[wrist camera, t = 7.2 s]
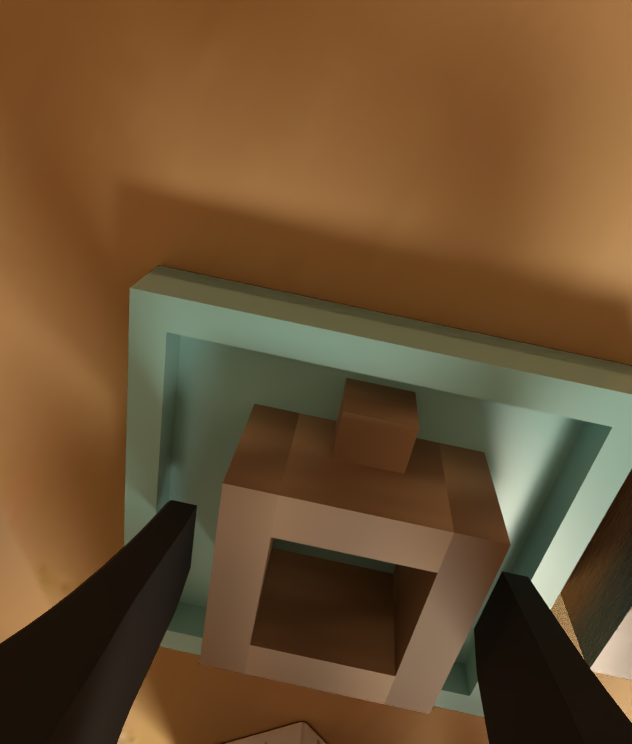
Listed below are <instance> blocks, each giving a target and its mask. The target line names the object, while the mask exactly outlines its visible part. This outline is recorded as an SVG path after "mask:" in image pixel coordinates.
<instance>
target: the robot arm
mask: <svg viewBox="0 0 632 744" xmlns="http://www.w3.org/2000/svg"><path fill="white" fill-rule="evenodd" d="M196 511H197V505H193V504H188V503H184V502H179V501H175V500H170V501H169V502H167V503H166V504H165V505H164V506H163V507H162V508H161V509H160V511H159V512H158V513H157V514H156V515H155V516H154V517H153V518H152V519H151V520H150V521H149V522H148V523H147V524H146V525H145V526H144V528H143V529H142V530H141V531H140V532H139V533H138V534H137V535H136V536H135V537H134V538H133V539H132V540H130V541H129V542H128V543H127V544H126V545H125V546H124V547H123V548H122V549H121V550H120V551H119V552H118V553H117V554H115V555H114V556H113V557H112V558H111V559H110V560H109V561H108V562H107V563H106V564H105V565H104V566H102V567H101V568H100V569H99V570H98V571H97V572H95V573H94V574H93V575H92V576H91V577H89V578H88V579H87V580H86V581H85V582H83V583H82V584H81V585H80V586H79V587H78V588H76V589H75V590H74V591H73V592H71V593H70V594H69V595H68V596H66V597H65V598H64V599H63V600H61V601H60V602H59V603H57V604H56V605H55V606H53V607H52V608H51V609H49V610H48V611H47V612H45V613H44V614H43V615H41V616H40V617H38V618H37V619H36V620H34V621H33V622H32V623H30V624H29V625H27V626H26V627H25V628H23V629H21V630H20V631H18V632H17V633H15V634H14V635H12V636H11V637H9V638H8V639H6V640H5V641H3V642H2V643H0V744H117V742H118V739H119V736H120V734H121V731H122V728H123V726H124V723H125V721H126V718H127V716H128V714H129V711H130V709H131V706H132V704H133V702H134V700H135V698H136V696H137V693H138V691H139V689H140V687H141V685H142V683H143V680H144V678H145V676H146V674H147V672H148V670H149V668H150V665H151V663H152V661H153V659H154V657H155V655H156V653H157V650H158V648H159V646H160V644H161V642H162V640H163V637H164V635H165V633H166V631H167V629H168V627H169V624H170V622H171V620H172V618H173V616H174V613H175V611H176V609H177V606H178V603H179V600H180V597H181V595H182V592H183V589H184V586H185V583H186V580H187V577H188V574H189V571H190V568H191V559H192V549H193V540H194V530H195V521H196ZM474 640H475V657H476V670H477V679H478V685H479V690H480V696H481V701H482V707H483V712H484V718H485V723H486V728H487V734H488V739H489V744H632V723H631V721H630V720H629V719H628V718H627V716H626V715H625V714H624V712H623V711H622V710H621V709H620V707H619V706H618V705H617V703H616V702H615V701H614V700H613V698H612V697H611V696H610V694H609V693H608V692H607V690H606V689H605V688H604V686H603V685H602V684H601V682H600V681H599V680H598V678H597V677H596V676H595V674H594V673H593V671H592V670H591V669H590V667H589V666H588V664H587V663H586V662H585V660H584V659H583V657H582V656H581V654H580V653H579V652H578V650H577V649H576V647H575V646H574V644H573V643H572V641H571V640H570V639H569V637H568V636H567V634H566V633H565V631H564V630H563V628H562V627H561V625H560V624H559V622H558V621H557V619H556V618H555V616H554V615H553V613H552V612H551V610H550V609H549V607H548V606H547V604H546V603H545V601H544V600H543V598H542V597H541V595H540V594H539V592H538V591H537V589H536V588H535V586H534V585H533V583H532V582H531V580H530V579H529V577H527V576H522V575H518V574H513V573H509V572H504V571H502V572H501V574H500V576H499V579H498V581H497V583H496V585H495V587H494V589H493V591H492V593H491V595H490V597H489V599H488V601H487V603H486V605H485V607H484V609H483V611H482V613H481V615H480V617H479V619H478V622H477V624H476V626H475V628H474Z"/></svg>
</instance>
